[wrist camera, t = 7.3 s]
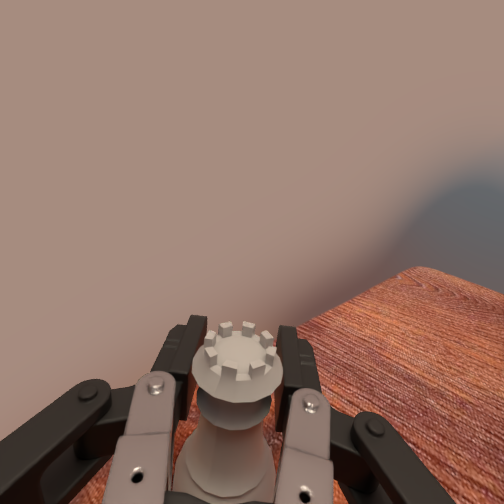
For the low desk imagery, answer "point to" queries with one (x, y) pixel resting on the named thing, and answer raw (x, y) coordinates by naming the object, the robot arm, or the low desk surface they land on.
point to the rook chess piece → (231, 419)
